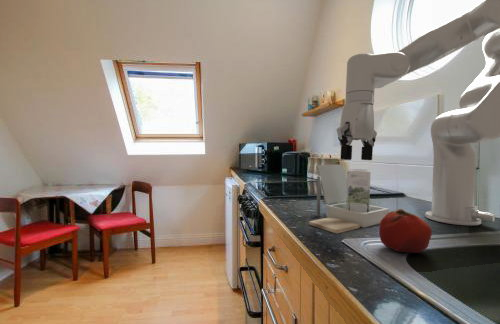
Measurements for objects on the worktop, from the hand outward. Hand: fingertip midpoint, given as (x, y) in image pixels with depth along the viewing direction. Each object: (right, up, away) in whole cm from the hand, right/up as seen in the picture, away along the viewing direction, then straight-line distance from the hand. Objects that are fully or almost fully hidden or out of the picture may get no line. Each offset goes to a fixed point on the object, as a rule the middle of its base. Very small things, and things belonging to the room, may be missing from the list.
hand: (356, 159), depth 72 cm
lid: (-4, -7, +7) cm, 11 cm away
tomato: (0, -19, -22) cm, 29 cm away
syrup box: (0, -18, +1) cm, 18 cm away
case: (-1, -17, +1) cm, 17 cm away
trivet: (-9, -18, -6) cm, 21 cm away
